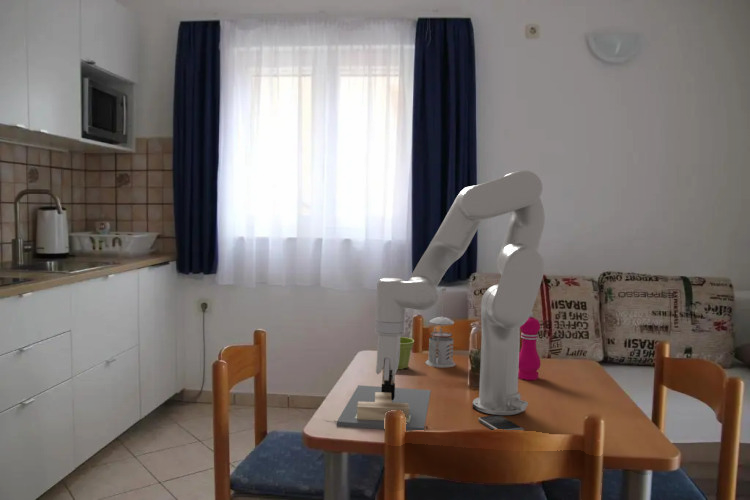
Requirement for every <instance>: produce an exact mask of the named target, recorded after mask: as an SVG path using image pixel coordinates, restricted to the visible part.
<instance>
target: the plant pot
mask: <svg viewBox="0 0 750 500" xmlns="http://www.w3.org/2000/svg"><path fill="white" fill-rule="evenodd" d="M414 343H415V339H414V338H410V337H405V336H404V337H403V336H400V356H399V365H398V369H397V370H403V369H407V368H409V364H410V363H409V361H410V356H411V352H412V347H413V345H414Z"/></svg>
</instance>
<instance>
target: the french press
mask: <svg viewBox="0 0 750 500" xmlns="http://www.w3.org/2000/svg"><path fill="white" fill-rule="evenodd" d="M439 290H440V292H447V288H445V286H442V287H441V288H440V289H439ZM441 304H442V306H441V316H438V317H434V318H432V319H430V320H429V323H430V324H431V325H435V326H441V328H439V331H437V327H435V328H434V329H433V332H430V337H429V339H428V340H429V341H428V342H429V343H428V346H429V347H428V359H427V360H426V361H425V364H426V366H430V367H433V368H451V367H455V366H456V363H455V362H454V361H453V357H454V355H453V354H454V338H453V337H452V336H453V334H452V333H451V332H446V331H443V326H451V325H454V324H455V321H453V319H450V318H449V317H444V315H443V313H444V298H442V302H441Z"/></svg>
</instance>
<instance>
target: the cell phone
mask: <svg viewBox="0 0 750 500" xmlns="http://www.w3.org/2000/svg"><path fill="white" fill-rule="evenodd" d="M478 422H479V423H480V424H482V425H484V426H485V427H486V428H489V429H490V430H492V429H503V430H504V429H505V430H524V431H525V428H523V427H521V426H519V424H516V423H514V422H513V421H511V420H509V419H507V418H505V417H504V416H503V415H494V414H493V415H487V416H480V417H478Z"/></svg>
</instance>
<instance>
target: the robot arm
mask: <svg viewBox="0 0 750 500" xmlns="http://www.w3.org/2000/svg"><path fill="white" fill-rule="evenodd" d="M542 193H543V182H542V180H541V178H540V177H539V176H538V174H536V173H534V171H530V170H526V169H525V170H524V169H523V170H518V171H513V172H509V173H506V174H505V175H504V176H501V177H497V178H496V179H493V180H489V181H487V182H483V183H479V184H476V185H470V186H466V187H464V188H463V189H462V190H461V191H460V192H459V193H458V195H456V197H455V199H454V201H453V203H452V205H451V206H450V208H449V210H448V211H447V214H446V215H445V217H444V219H443V221H442V222H441V224H440V226H439V228H438V230H437V231H436V233H435V234H434V236H433V238H432V239H431V241H430V243H429V245H428V246H427V248H426V250H425V251H424V253H423V254H422V255H421V258H420V260H419V261H418V263H417V264H416V266H415V268H414V270H413V272H412V273H411V275H410V277H409V279H408V281H405V280H404V279H403V278H398V277H384V278H380V279H379V280H378V281H377V284H376V302H375V303H376V304H375V305H376V307H375V308H376V309H375V331H374V333H375V334H376V335H378V341H377V351H376V353H377V354H376V367H375V368H376V369H375V373H376V374H377V375H379V374H381V373H382V381H381V387H382V392H385V393H391V399H392V400H394V397H395V388H396V382H395V378H396V374H397V371H398V370H399V369H398V365H399V356H400V337H402V336H404V335H406V325H407V324H406V321H407V319H406V318H407V309H412V310H418V311H427V310H428V311H429V310H431V309H432V308H433V307H435V306H436V304H437V303H438V301H439V291H438V286H439V284H440V282H441V280H442V278H443V277H444V276H445V274H446V272H447V270H448V269H449V268H450V267H451V266H452V265H453V264H454V263H455V262H456V261H457V260H459V259H460V258H461V257H462V256H463V255H465V254H464V253H465V252H466V251H467V250H468V247H469V246H470V244H471V243H472V240H473V238H474V237H475V234H476V233H477V231H478V229H479V227H480V226H481V224H482V222H483V221H485V220H488V219H493V218H496V217H498V216H502V215H505V214H508V213H509V220H508V221H509V222H508V225H507V230H506V233H505V236H504V239H503V243H502V246H501V248H500V251H499V253H498V257H497V260H496V267H497V271H498V272H499V274H500V275H501V276H500V279H499V282H498V283H497V284H494V285H491V286H489V287H488V288H487V289H486V290H485V292H484V293H483V295H482V296H481V297H482V298H481V302H480V315H481V317H480V318H481V320H480V321H481V342H480V344H481V345H480V364H479V366H480V367H479V369H480V370H479V389H478V390H479V392H478V397H475V398H474V399H473V401H472V407H473V408H474V409H475V410H477V411H479V412H481V413H485V414H489V415H493V416H494V415H499V416H512V415H518V414H520V413H522V412H524V411H526V409H527V407H528V405H529V403H528V401H526V400H522V398H521V393H520V392H518V388H519V387H518V386H519V378H518V370H519V368H518V367H519V353H520V349H521V348H520V344H521V343H520V341H521V329H520V326H522V325H523V324H524V323H525V322H526V321H527V320H528V318H529V316H530V314H531V312H532V313H533V308H534V305H535V303H536V300H537V297H538V293H539V290H540V288H541V284H542V281H543V277H544V272H545V262H544V259H543V257H542V254H541V253H540V252H539V251H538V250H539V245H540V243H541V239H542V236H543V235H542V234H543V232H544V231H543V230H544V227H545V209H544V206H543V205H544V204H543V202H542V200H541V195H542Z"/></svg>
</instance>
